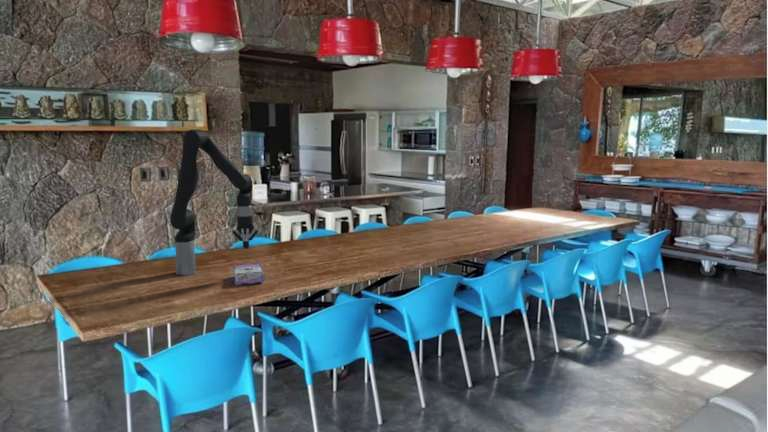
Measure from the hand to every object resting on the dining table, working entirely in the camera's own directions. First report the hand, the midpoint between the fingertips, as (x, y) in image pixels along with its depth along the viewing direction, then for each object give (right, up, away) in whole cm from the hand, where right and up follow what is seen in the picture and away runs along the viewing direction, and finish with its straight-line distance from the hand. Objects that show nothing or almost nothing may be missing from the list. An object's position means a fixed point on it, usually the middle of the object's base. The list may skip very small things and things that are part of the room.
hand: (246, 248), depth 271 cm
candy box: (0, -11, +3) cm, 11 cm away
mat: (+1, -15, -3) cm, 15 cm away
